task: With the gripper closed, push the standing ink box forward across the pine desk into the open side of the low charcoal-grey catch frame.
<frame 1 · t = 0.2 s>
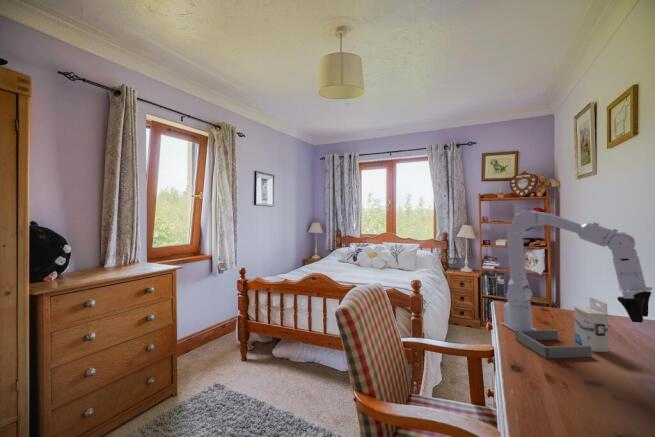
hand: (640, 319, 90), 10 cm above the table, tool pointing down, fingers open, 7 cm apart
ink box: (591, 347, 96), on the table
catch frame: (554, 347, 96), on the table
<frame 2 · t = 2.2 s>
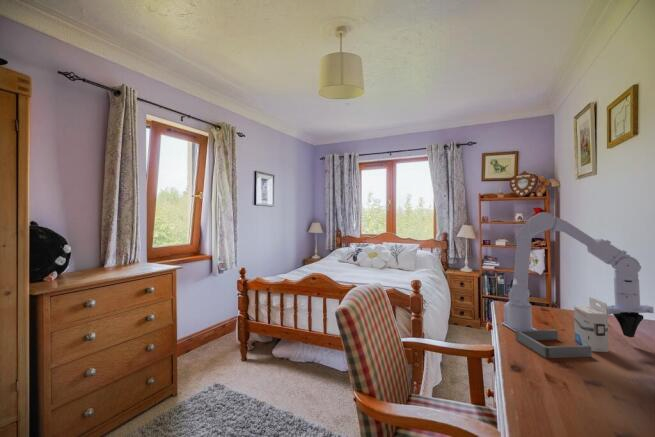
hand: (628, 336, 96), 3 cm above the table, tool pointing down, fingers closed
nothing on the table moved.
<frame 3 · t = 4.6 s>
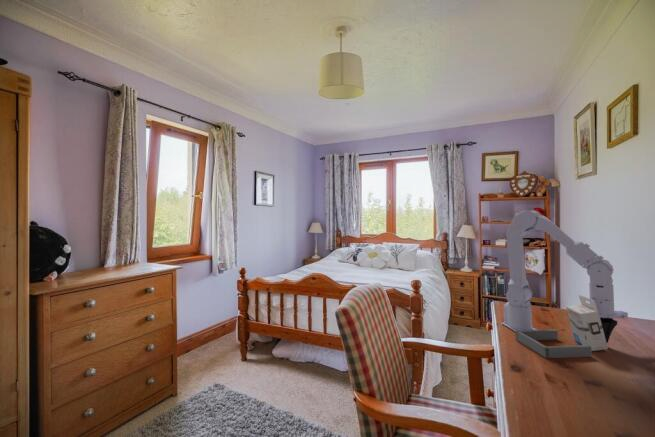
hand: (603, 341, 96), 1 cm above the table, tool pointing down, fingers closed
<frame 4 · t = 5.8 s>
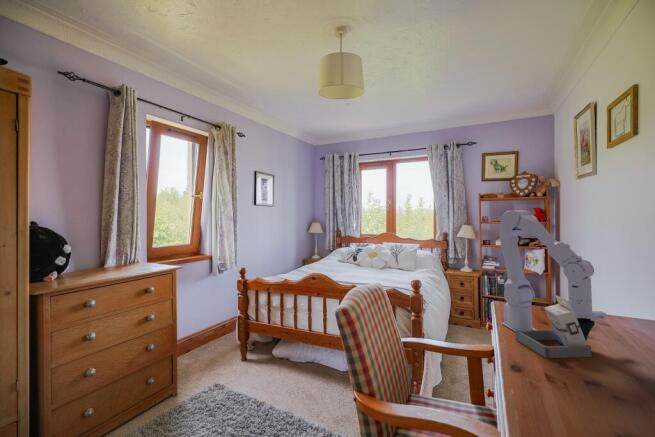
hand: (581, 342, 96), 1 cm above the table, tool pointing down, fingers closed
ink box: (572, 345, 96), point 1 cm above the table, touching gripper
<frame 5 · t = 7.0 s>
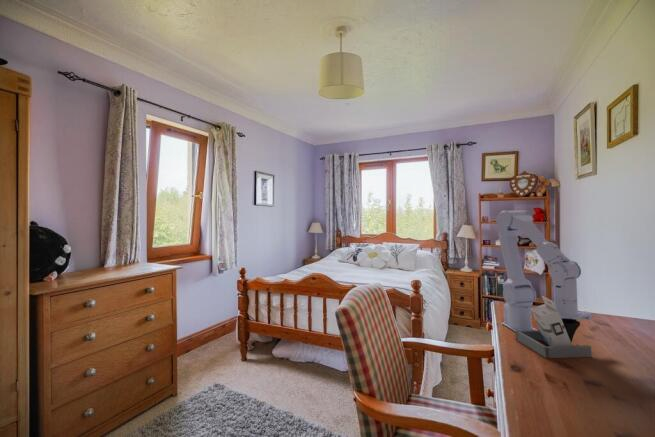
hand: (567, 342, 96), 1 cm above the table, tool pointing down, fingers closed
ink box: (558, 345, 96), point 1 cm above the table, touching gripper
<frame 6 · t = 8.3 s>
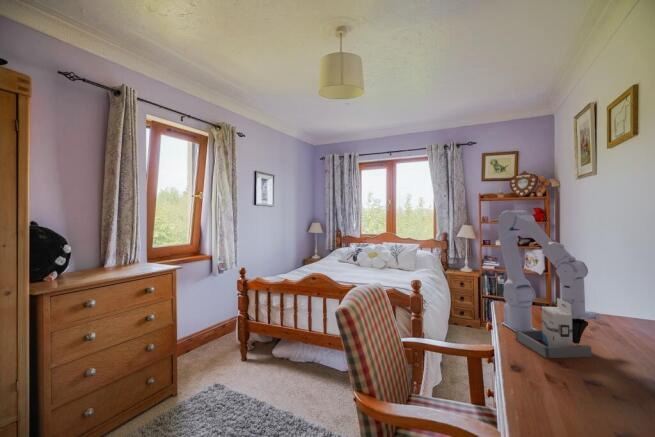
hand: (574, 342, 96), 1 cm above the table, tool pointing down, fingers closed
ink box: (556, 348, 96), on the table
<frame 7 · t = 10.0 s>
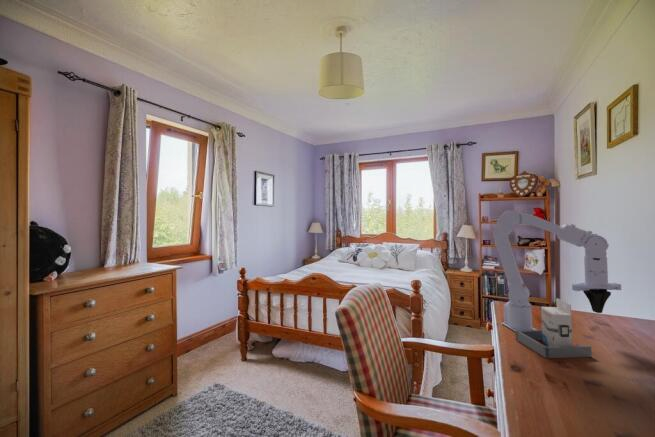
hand: (597, 312, 100), 9 cm above the table, tool pointing down, fingers closed
nothing on the table moved.
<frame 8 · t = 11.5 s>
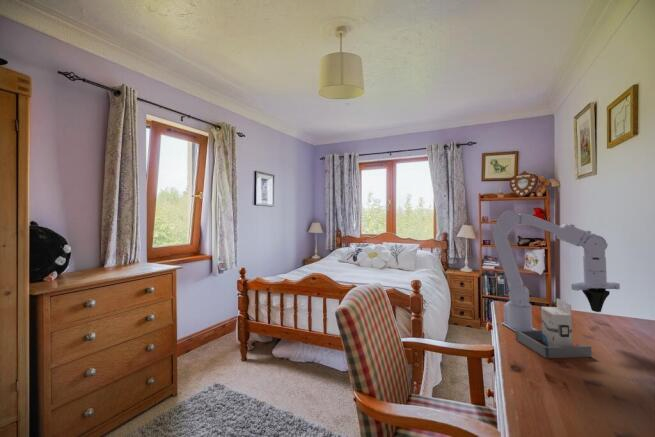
hand: (596, 311, 101), 9 cm above the table, tool pointing down, fingers closed
nothing on the table moved.
at the end: ink box inside the target area (1.6 cm from its centre), on the table; ink box tilted 0°; ink box moved 10.9 cm from its start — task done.
